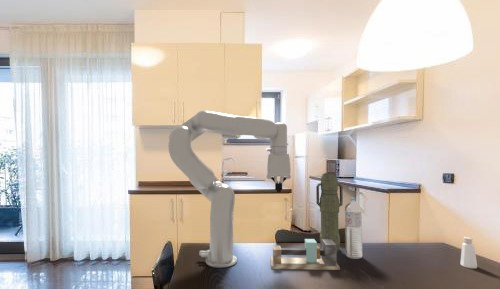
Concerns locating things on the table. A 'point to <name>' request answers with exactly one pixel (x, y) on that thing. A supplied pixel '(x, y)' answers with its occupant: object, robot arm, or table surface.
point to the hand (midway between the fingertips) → (278, 191)
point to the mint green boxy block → (311, 250)
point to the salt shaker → (468, 254)
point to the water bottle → (353, 230)
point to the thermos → (329, 207)
